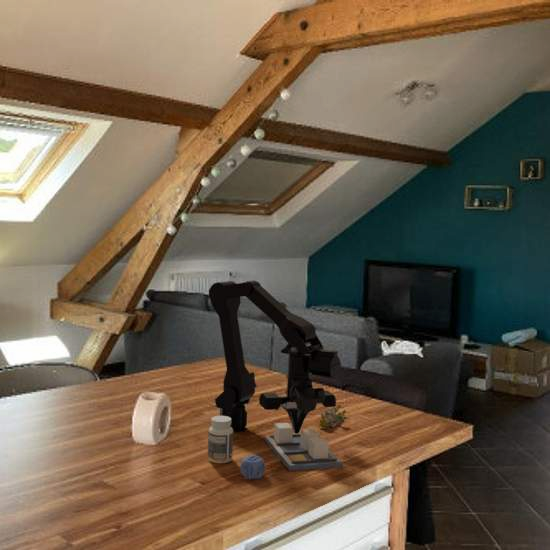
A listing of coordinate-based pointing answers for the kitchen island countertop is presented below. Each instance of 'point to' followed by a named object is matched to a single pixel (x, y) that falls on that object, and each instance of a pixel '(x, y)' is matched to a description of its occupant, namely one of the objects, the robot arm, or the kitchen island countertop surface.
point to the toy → (331, 417)
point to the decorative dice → (252, 467)
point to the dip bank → (300, 455)
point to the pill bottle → (220, 440)
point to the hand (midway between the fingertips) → (296, 433)
